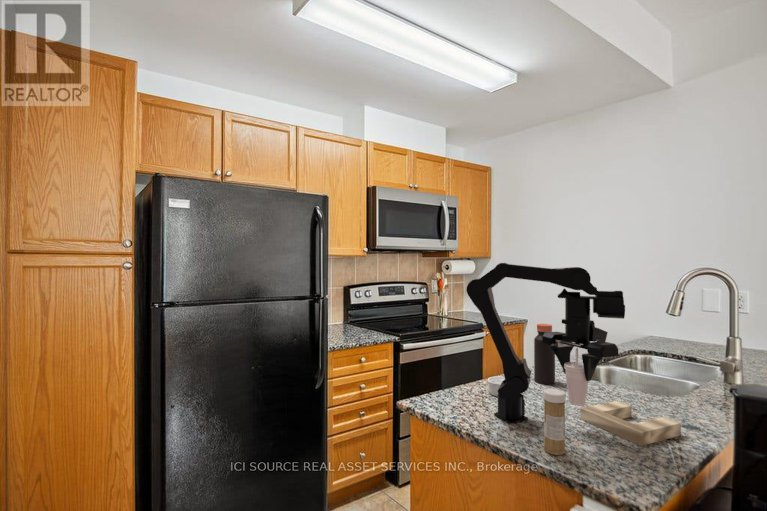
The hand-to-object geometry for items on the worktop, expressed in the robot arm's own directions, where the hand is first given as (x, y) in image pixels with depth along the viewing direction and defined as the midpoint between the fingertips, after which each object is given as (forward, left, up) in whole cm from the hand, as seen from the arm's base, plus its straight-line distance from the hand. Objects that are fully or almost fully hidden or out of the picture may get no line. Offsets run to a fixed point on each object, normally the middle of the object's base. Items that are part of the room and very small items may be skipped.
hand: (577, 377), depth 103 cm
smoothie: (0, 0, -7) cm, 7 cm away
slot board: (+13, -5, -13) cm, 19 cm away
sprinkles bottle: (-15, -7, -13) cm, 21 cm away
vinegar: (+22, +33, -13) cm, 42 cm away
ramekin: (0, +29, -13) cm, 32 cm away
